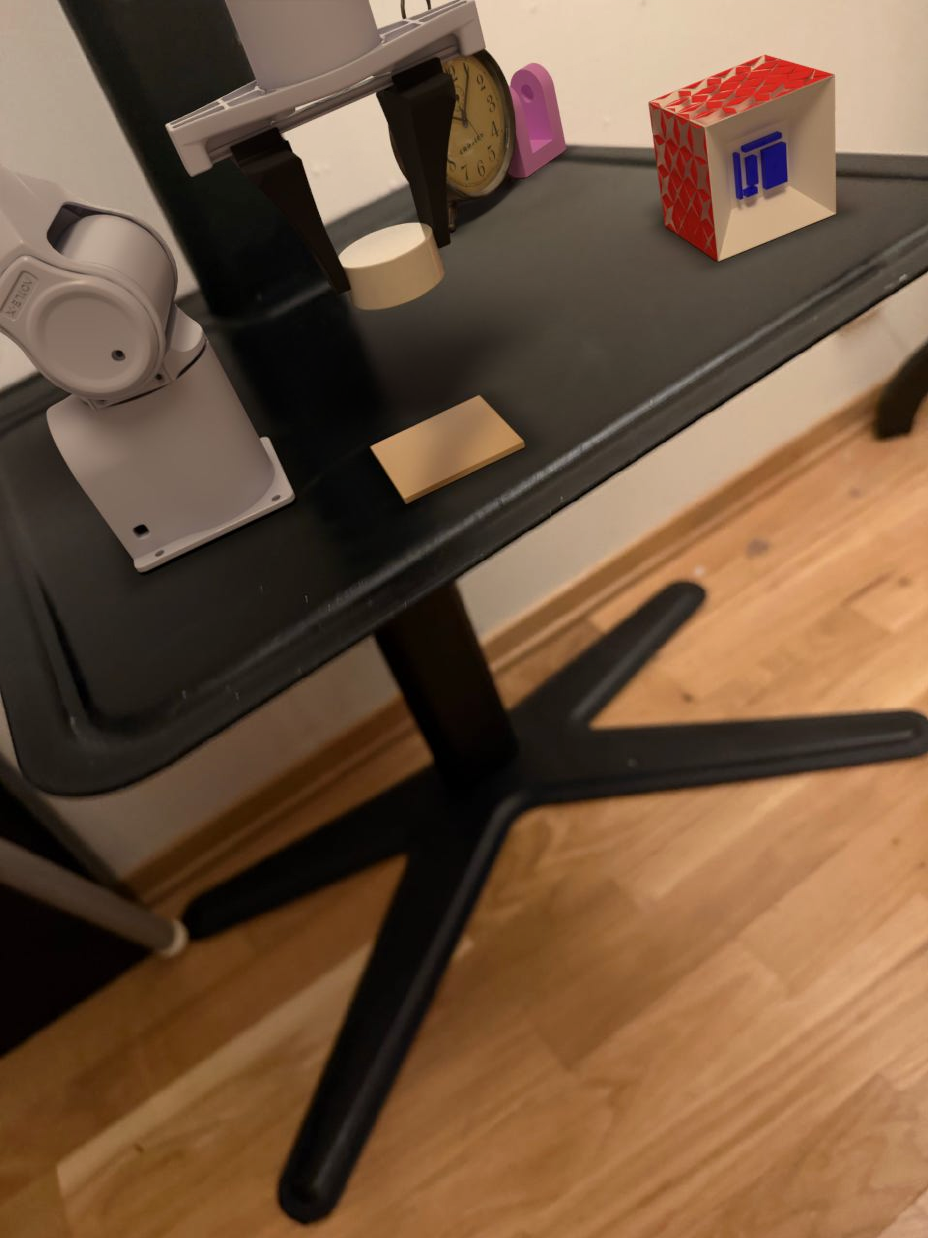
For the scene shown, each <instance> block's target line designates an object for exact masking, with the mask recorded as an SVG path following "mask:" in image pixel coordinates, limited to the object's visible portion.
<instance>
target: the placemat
mask: <svg viewBox="0 0 928 1238" xmlns="http://www.w3.org/2000/svg"><path fill="white" fill-rule="evenodd" d="M369 448H370V451H371V452H372V454H373V456H374V457H375V459H376V460H377V461H378V463H379V465H380V467H381V469H383V471H384V473H385V474H386V476H387V477H388V479H389V481H390V482H391V483H392V485H393V487H394V488H395V489H396V491H397V493H398V495H399V496H400V497H401V499H402V501H403V502H404V503H405V505H408V504H409V503H412V502H414V501H416V500H418V499H420V498H422V497H424V496H426V495H428V494H431V493H433V492H435V491H436V490H439V489H441V488H443V487H445V486H447V485H449V484H451V483H453V482H455V481H457V480H460V479H463V478H464V477H466V476H468V475H470V474H471V473H474V472H477V471H478V470H480V469H483V468H485V467H487V466H488V465H491V464H492V463H495V462H497V461H499V460H501V459H503V458H505V457H507V456H509V455H512V454H514V453H516V452H518V451H520V450H522V449H524V448H526V443H525V441H524V440H523V439H522V437H521V436H520V435H518V433H516V431H515V430H514V429H513V428H511V426H510V425H509V424H508V423H507V422H506V421H505V420H504V418H502V417H501V416H500V415H499V414H498V413H497V411H495V410H494V408H493V407H491V405H490V404H489V403H488V402H487V401H486V400H485V399H484V397H482V396H481V395H480V394H478V395H476V396H474V397H471V398H470V399H467V400H466V401H463V402H461V403H460V404H457V405H455V406H453V407H450V408H449V409H447V410H444V411H442V412H441V413H438V414H436V415H433V416H432V417H430V418H428V419H425V420H423V421H421V422H419V423H417V424H415V425H413V426H411V427H408V428H406V429H404V430H402V431H400V432H398V433H396V434H394V435H392V436H390V437H387V438H385V439H383V440H381V441H379V442H377V443H374V444H372V445H370V446H369Z"/></svg>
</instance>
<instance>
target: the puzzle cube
mask: <svg viewBox="0 0 928 1238" xmlns="http://www.w3.org/2000/svg"><path fill="white" fill-rule="evenodd" d="M647 103H648V105H647V106H648V111H649V112H648V113H649V118H650V119H649V120H650V126H651V132H652V141H653V148H654V156H655V157H654V158H655V163H656V170H657V177H658V186H659V193H660V200H661V201H660V202H661V208H662V215H663V222H664V227H665V228H667V229H669V230H670V231H672V232H673V233H675V234H676V235H678V236H679V237H680V238H682V239H684V240H685V241H687V242H688V243H690V244H691V245H692V246H694V247H696V248H697V249H698V250H700V251H702V253H704V254H706V255H708V256H709V257H710V258H712V259H713V260H714V261H716V262H718V263H719V262H721V261H723V260H726V259H729V258H731V257H733V256H736V255H738V254H740V253H743V252H745V251H748V250H750V249H753V248H755V247H758V246H760V245H763V244H765V243H768V242H770V241H773V240H775V239H778V238H780V237H782V236H786V235H788V234H790V233H792V232H794V231H795V232H796V231H798V230H800V229H802V228H805V227H807V226H809V225H812V224H814V223H818V222H820V221H822V220H824V219H827V218H830V217H832V216H835V215H836V214H837V168H836V167H837V165H836V162H837V161H836V160H837V159H836V155H837V153H836V150H837V149H836V148H837V147H836V74H835V73H832V72H828V71H824V70H822V69H817V68H814V67H812V66H811V67H810V66H807V65H802V64H800V63H796V62H793V61H789V60H786V59H782V58H778V57H775V56H771V55H768V54H763V55H760V56H758V57H756V58H753V59H750V60H748V61H745V62H742V63H740V64H738V65H736V66H733V67H730V68H727V69H725V70H722V71H720V72H718V73H716V74H714V75H710V76H709V77H705V78H704V79H701V80H698V81H697V82H694V83H691V84H689V85H686V86H684V87H682V88H679V89H676V90H673V91H671V92H669V93H666V94H664V95H662V96H659V97H657V98H654V99H652V100H649V101H648V102H647Z"/></svg>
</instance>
